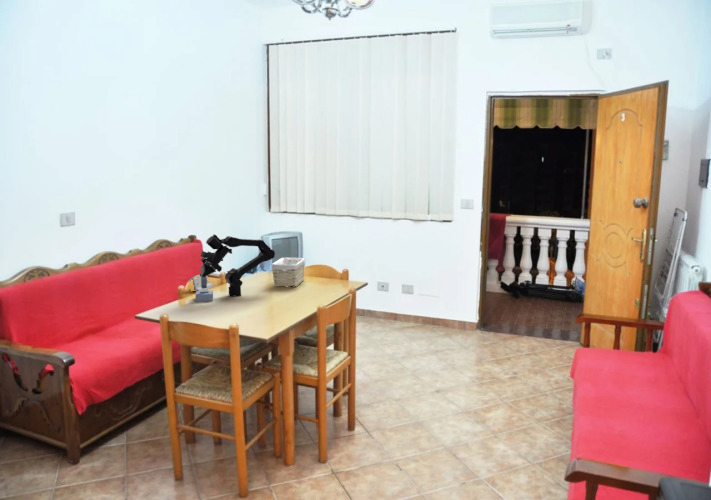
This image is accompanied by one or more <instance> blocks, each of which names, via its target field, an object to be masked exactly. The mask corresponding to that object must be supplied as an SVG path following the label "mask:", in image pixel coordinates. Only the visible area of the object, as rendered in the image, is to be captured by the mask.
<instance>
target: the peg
mask: <svg viewBox="0 0 711 500" xmlns="http://www.w3.org/2000/svg"><path fill="white" fill-rule="evenodd" d="M199 267H200V273H201V288H207V277H206V276H205V277H202V275H203V273H204V272H205V270H206V265H203V264H201V265H200V266H199Z"/></svg>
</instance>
